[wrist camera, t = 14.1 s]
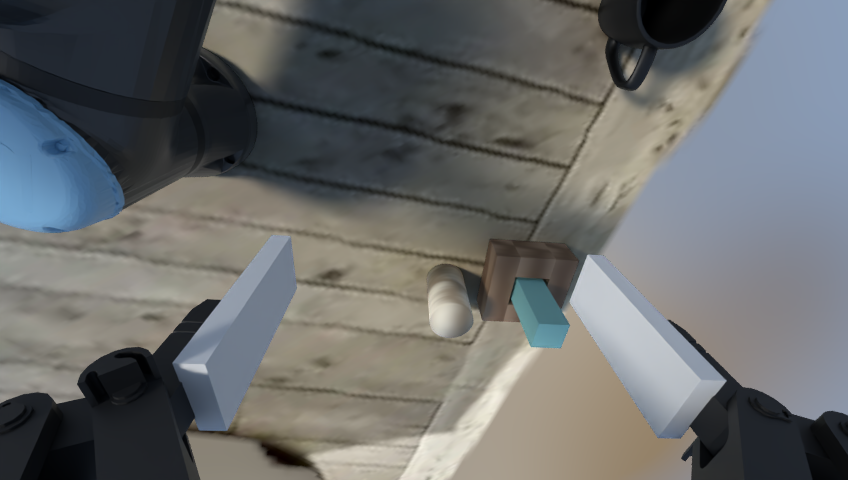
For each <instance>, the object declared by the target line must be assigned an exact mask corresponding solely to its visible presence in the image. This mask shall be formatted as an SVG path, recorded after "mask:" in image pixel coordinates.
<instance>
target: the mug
mask: <svg viewBox="0 0 848 480" xmlns="http://www.w3.org/2000/svg"><path fill="white" fill-rule="evenodd" d="M726 2H727V0H602V1H601V3H600V6H599V12H598V21H599V25H600V27H601V29H602V31H603V32H604V33H605V34H606V35H608V36H610V37H609V39H608V41H607V44H606V49H605V54H606V60H607V63H608V67H609V70H610V74H611V77H612V79H613V82H614V83H615V85H616V86H617V87H619V88H621V89H624V90H628V91H634V90H636V89H637V88H639V86H640V85H641V84H642V82H643V81H644V79H645V77H646V75H647V74H648V71H649V69H650V67H651V65H652V63H653V60H654V58H655V55H656V53H657V50H658V49H673V48H677V47H680V46H683V45H685V44H687V43H689V42H691V41H693V40H695V39H696V38H697V37H699V36H700V35H701V34H702V33H704V32H705V31H706V30H707V29H708V28H709V27H710V26H711V25H712V24H713V22H714V21H715V20H716V18H717V17H718V16H719V14H720V13H721V11H722V10H723V8H724V6H725V4H726ZM621 44H623V45H626V46H629V47H633V48H638V49H642V52H641V55H640V57H639V60H638V62H637V65H636V67H635V69H634V71H633V73H632V75H631V76H630V78H629V79H628V80H627V81H626V80H625V79H624V76H623V74H622V71H621V68H620V64H619V59H618V52H619V48H620V45H621Z"/></svg>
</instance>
